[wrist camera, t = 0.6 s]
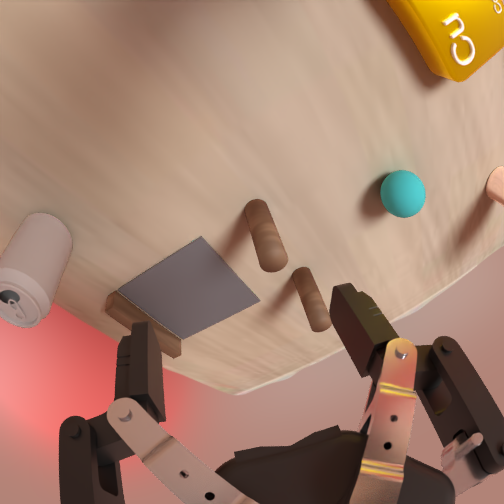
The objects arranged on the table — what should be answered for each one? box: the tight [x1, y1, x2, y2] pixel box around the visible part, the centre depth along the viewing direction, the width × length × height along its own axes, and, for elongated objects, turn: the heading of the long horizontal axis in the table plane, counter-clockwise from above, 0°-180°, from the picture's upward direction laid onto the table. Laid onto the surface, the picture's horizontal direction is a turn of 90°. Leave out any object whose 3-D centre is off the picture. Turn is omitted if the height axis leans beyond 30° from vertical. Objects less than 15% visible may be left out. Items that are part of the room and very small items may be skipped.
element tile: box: [386, 0, 504, 82], centre depth 19 cm, size 15×15×5 cm
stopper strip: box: [105, 291, 181, 359], centre depth 42 cm, size 2×14×3 cm, turn 30°
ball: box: [380, 170, 425, 218], centre depth 34 cm, size 6×6×6 cm
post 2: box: [292, 267, 332, 332], centre depth 39 cm, size 3×3×9 cm
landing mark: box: [118, 236, 260, 339], centre depth 42 cm, size 14×14×1 cm
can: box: [0, 213, 73, 328], centre depth 27 cm, size 8×8×12 cm
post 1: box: [245, 199, 288, 272], centre depth 32 cm, size 3×3×9 cm
